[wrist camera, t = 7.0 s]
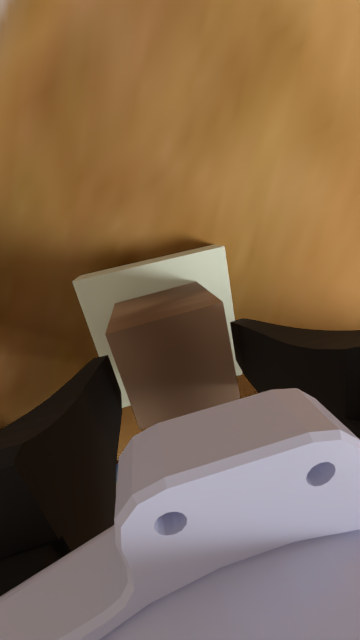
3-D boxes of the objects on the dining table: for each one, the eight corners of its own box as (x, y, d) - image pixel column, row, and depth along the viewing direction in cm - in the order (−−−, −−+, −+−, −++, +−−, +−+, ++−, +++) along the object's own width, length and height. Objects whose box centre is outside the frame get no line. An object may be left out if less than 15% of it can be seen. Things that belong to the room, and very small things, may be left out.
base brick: (211, 244, 16) (224, 246, 14) (229, 356, 19) (242, 374, 16) (81, 274, 15) (72, 281, 13) (120, 386, 18) (117, 409, 16)
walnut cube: (196, 281, 14) (222, 301, 10) (211, 353, 15) (240, 398, 11) (114, 303, 14) (105, 334, 9) (138, 375, 15) (139, 429, 11)
